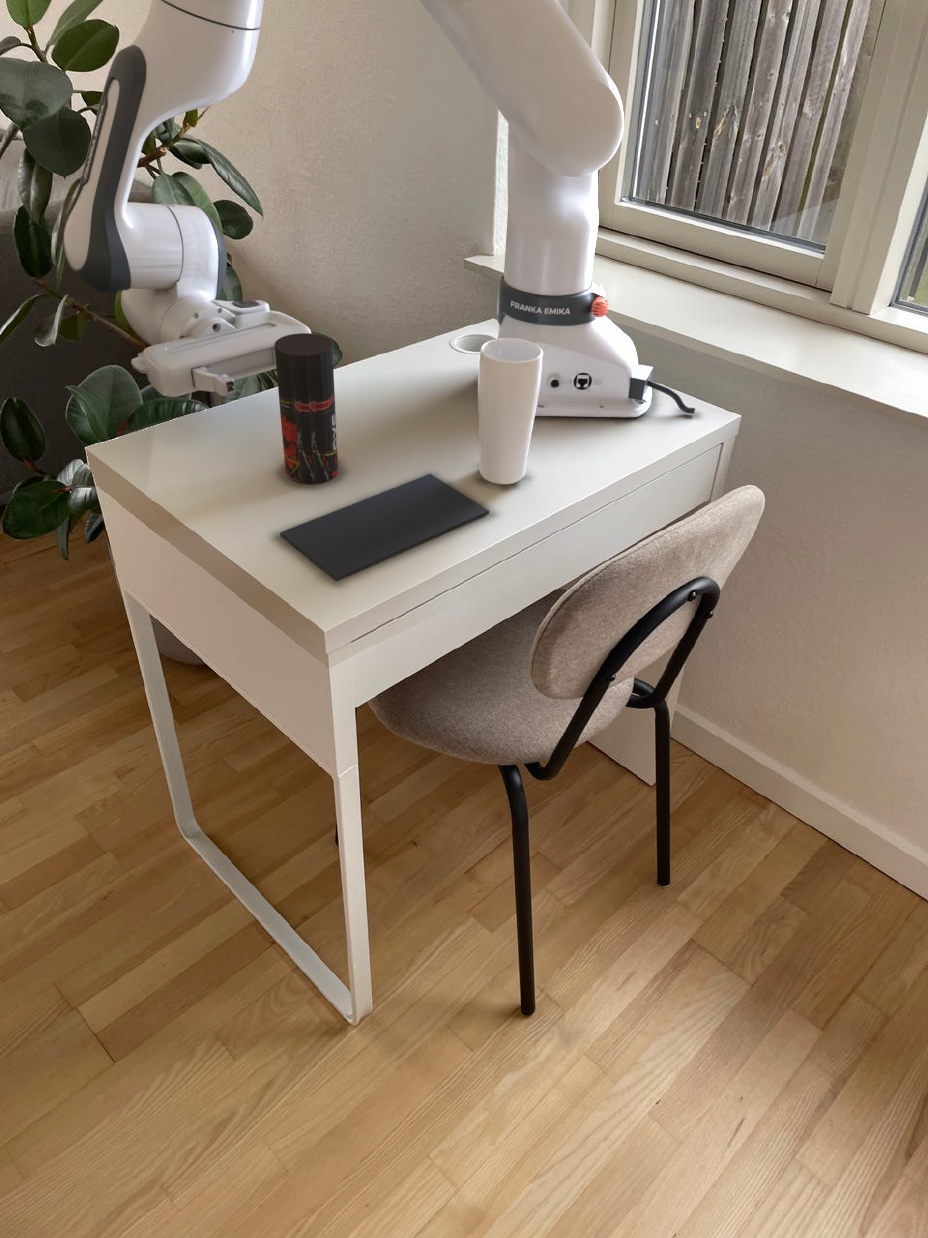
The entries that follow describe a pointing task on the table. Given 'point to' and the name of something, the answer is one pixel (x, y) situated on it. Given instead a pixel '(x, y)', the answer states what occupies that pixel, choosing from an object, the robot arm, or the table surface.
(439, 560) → the table surface
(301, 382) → the deodorant
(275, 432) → the table surface
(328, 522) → the mat
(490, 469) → the drinking glass
